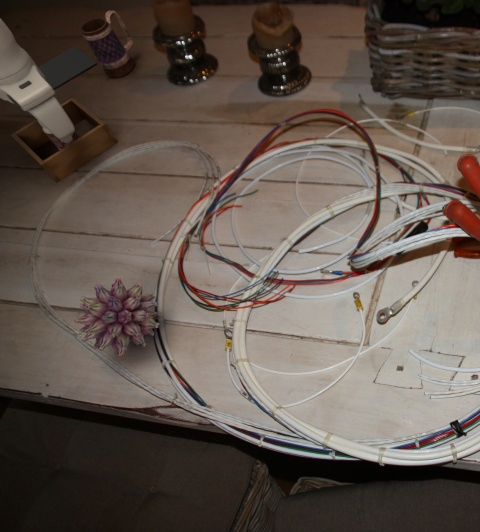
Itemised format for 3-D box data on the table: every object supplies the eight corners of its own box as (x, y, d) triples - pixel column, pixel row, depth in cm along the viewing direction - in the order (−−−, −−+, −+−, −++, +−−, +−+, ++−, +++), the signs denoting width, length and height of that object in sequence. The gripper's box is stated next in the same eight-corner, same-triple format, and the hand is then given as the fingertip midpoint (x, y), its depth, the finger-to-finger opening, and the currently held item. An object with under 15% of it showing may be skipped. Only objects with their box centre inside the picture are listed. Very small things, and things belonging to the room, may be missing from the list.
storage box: (57, 182, 111) (41, 165, 107) (26, 152, 117) (10, 134, 113) (118, 141, 116) (105, 123, 112) (85, 115, 122) (72, 97, 118)
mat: (53, 90, 129) (52, 88, 129) (32, 72, 135) (31, 70, 134) (97, 64, 134) (96, 62, 133) (74, 47, 139) (74, 46, 139)
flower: (132, 305, 93) (188, 303, 89) (98, 368, 86) (157, 369, 82) (83, 264, 85) (142, 260, 81) (40, 331, 78) (103, 330, 74)
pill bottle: (73, 156, 115) (48, 125, 108) (56, 152, 116) (30, 122, 109) (87, 140, 117) (63, 110, 110) (70, 137, 118) (45, 106, 112)
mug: (118, 81, 128) (89, 35, 119) (100, 73, 131) (70, 28, 121) (150, 57, 133) (125, 11, 123) (132, 50, 135) (105, 4, 126)
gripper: (-21, 68, 106) (26, 123, 117) (23, 108, 97) (70, 163, 108) (9, 51, 108) (53, 107, 119) (55, 89, 99) (97, 145, 110)
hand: (61, 134), depth 114 cm, fingers closed on pill bottle, 5 cm apart
